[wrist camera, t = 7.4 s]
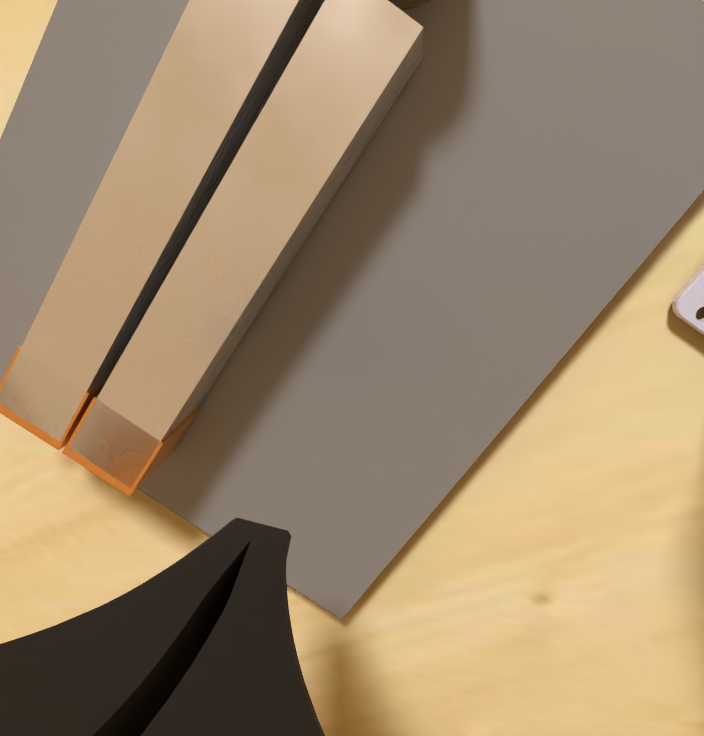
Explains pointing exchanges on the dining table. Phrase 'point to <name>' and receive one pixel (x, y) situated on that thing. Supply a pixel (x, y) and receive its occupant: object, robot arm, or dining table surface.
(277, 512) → the cutting board
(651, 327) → the dining table surface
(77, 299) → the tongs fixed
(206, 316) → the bar
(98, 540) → the dining table surface
